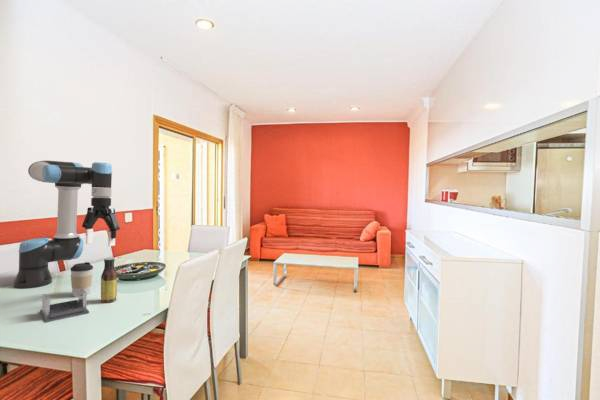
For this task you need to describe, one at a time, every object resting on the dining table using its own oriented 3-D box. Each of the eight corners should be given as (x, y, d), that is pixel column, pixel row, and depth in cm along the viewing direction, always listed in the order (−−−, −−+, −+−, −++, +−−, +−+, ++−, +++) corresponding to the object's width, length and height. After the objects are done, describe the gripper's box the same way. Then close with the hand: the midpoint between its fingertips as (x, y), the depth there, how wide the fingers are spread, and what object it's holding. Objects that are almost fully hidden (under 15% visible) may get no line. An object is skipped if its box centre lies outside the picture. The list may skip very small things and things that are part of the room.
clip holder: (40, 311, 129) (40, 292, 129) (80, 303, 139) (80, 286, 139) (45, 322, 120) (46, 302, 119) (88, 313, 130) (89, 294, 130)
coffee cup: (80, 298, 145) (81, 266, 145) (64, 296, 147) (65, 265, 146) (97, 292, 154) (97, 262, 153) (81, 290, 156) (82, 261, 155)
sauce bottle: (105, 298, 147) (106, 256, 146) (119, 298, 147) (120, 256, 147) (97, 303, 140) (98, 259, 140) (112, 303, 141) (113, 260, 140)
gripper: (73, 196, 140) (72, 243, 141) (114, 198, 132) (113, 248, 133) (89, 196, 147) (88, 241, 148) (129, 198, 139) (128, 245, 140)
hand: (100, 244), depth 140 cm, fingers open, 13 cm apart
